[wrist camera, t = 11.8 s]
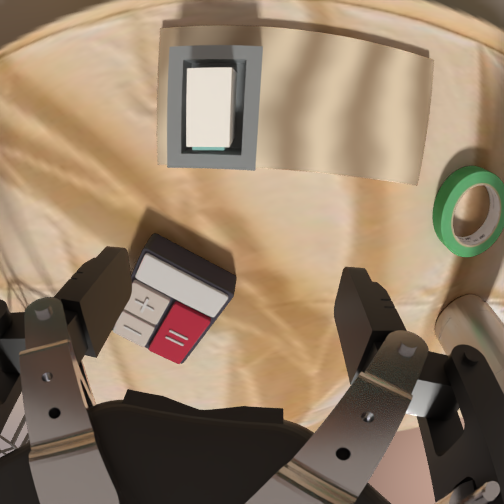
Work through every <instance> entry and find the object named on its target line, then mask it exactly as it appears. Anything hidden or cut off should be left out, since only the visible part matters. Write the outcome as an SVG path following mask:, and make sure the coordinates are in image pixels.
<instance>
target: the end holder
mask: <svg viewBox="0 0 504 504" xmlns="http://www.w3.org/2000/svg"><path fill="white" fill-rule="evenodd" d="M262 55H263V46H243V45H194V46H174V47H169V66H168V95H167V167H168V168H213V169H237V170H255V167H256V151H257V135H258V119H259V103H260V87H261V71H262ZM214 67H232V68H233V69H234V70H235V71H236V72H237V97H236V127H235V138H234V140H233V142H232V143H231V145H230V147H226V148H225V150H192V147H186V95H187V68H214Z"/></svg>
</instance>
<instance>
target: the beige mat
mask: <svg viewBox="0 0 504 504" xmlns="http://www.w3.org/2000/svg"><path fill="white" fill-rule="evenodd" d="M194 45H243V46H263V55H262V71H261V87H260V103H259V119H258V135H257V151H256V167H255V168H268V169H282V170H294V171H306V172H316V173H326V174H336V175H344V176H353V177H361V178H369V179H376V180H383V181H390V182H397V183H404V184H410V185H416V186H417V185H418V180H419V175H420V170H421V164H422V159H423V153H424V147H425V140H426V134H427V127H428V119H429V111H430V103H431V93H432V82H433V68H434V60H433V59H430V58H427V57H424V56H420V55H417V54H414V53H411V52H407V51H404V50H400V49H397V48H393V47H389V46H385V45H381V44H377V43H373V42H369V41H364V40H360V39H355V38H350V37H345V36H339V35H333V34H327V33H321V32H314V31H306V30H298V29H288V28H277V27H263V26H239V25H207V26H183V27H169V28H160V43H159V61H158V88H157V161H158V165H167V95H168V66H169V47H174V46H194Z"/></svg>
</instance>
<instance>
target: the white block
mask: <svg viewBox="0 0 504 504" xmlns="http://www.w3.org/2000/svg"><path fill="white" fill-rule="evenodd" d="M236 97H237V72H236V71H235V70H234V69H233V68H232V67H214V68H187V95H186V147H192V150H225V148H226V147H230V145H231V143H232V142H233V140H234V138H235V127H236Z"/></svg>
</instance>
